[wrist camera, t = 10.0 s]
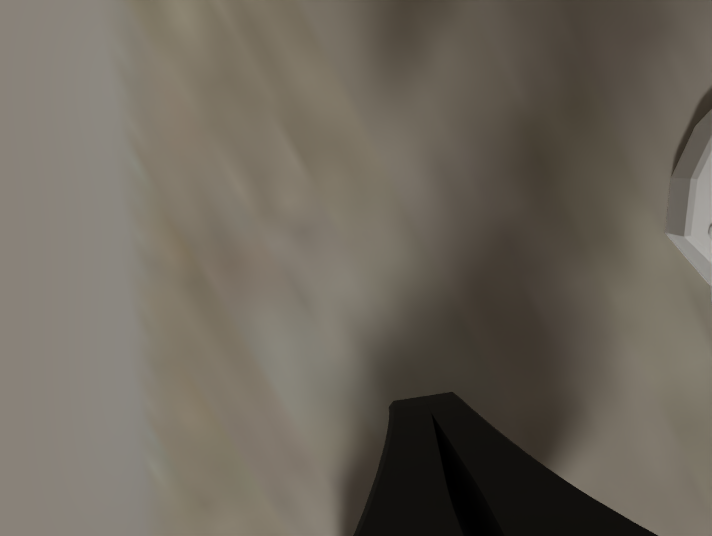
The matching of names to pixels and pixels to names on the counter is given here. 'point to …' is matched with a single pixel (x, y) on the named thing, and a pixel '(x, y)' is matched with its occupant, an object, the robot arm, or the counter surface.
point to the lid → (693, 200)
